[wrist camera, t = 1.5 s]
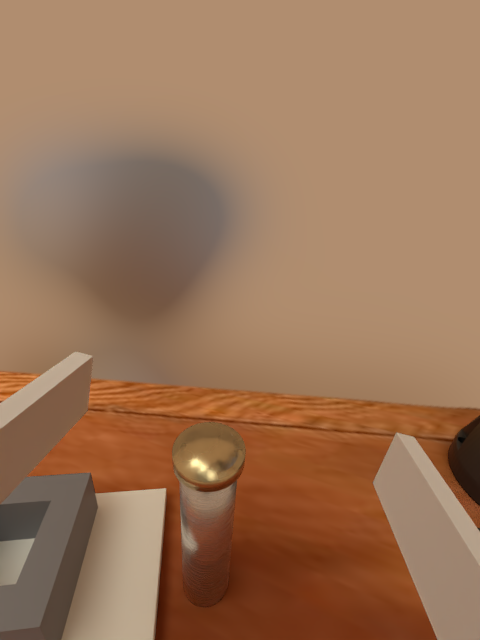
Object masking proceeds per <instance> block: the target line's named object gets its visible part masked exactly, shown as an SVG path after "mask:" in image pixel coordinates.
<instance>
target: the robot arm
mask: <svg viewBox="0 0 480 640" xmlns="http://www.w3.org/2000/svg"><path fill="white" fill-rule="evenodd" d="M92 363H93V356H91V355H87V354H83V353H79V352H74V353H73V354H71V355H70V356H68V357H67V358H65V359H64V360H63V361H61V362H60V363H58V364H57V365H55V366H54V367H52V368H51V369H50V370H48V371H47V372H45V373H44V374H42V375H41V376H39V377H38V378H36V379H35V380H34V381H32V382H31V383H29V384H28V385H26V386H25V387H23V388H22V389H20V390H19V391H18V392H16V393H15V394H13V395H12V396H10V397H9V398H7V399H6V400H5V401H3V402H2V403H0V504H1V503H2V502H3V501H4V500H5V499H6V498H7V497H8V496H9V495H10V493H11V492H12V491H13V490H14V489H15V488H16V487H17V486H18V485H19V484H20V483H21V482H22V481H23V480H24V478H25V477H26V476H27V475H28V474H29V473H30V472H31V471H32V470H33V469H34V468H35V467H36V466H37V465H38V463H39V462H40V461H41V460H42V459H43V458H44V457H45V456H46V455H47V454H48V453H49V452H50V451H51V450H52V448H53V447H54V446H55V445H56V444H57V443H58V442H59V441H60V440H61V439H62V438H63V437H64V436H65V435H66V433H67V432H68V431H69V430H70V429H71V428H72V427H73V426H74V425H75V424H76V423H77V422H78V421H79V420H80V418H81V417H82V416H83V415H84V414H85V413H86V412H87V411H88V401H89V392H90V382H91V371H92ZM448 459H449V464H450V467H451V469H452V472H453V474H454V475H455V477H456V479H457V480H458V482H459V483H460V485H461V486H462V487H463V488H464V490H465V491H466V492H467V493H468V494H469V495H470V496H471V497H472V498H473V499H474V500H475V501H476V502H477V503H478V504H479V505H480V416H478V417H477V418H476V419H475V420H473V421H472V422H471V423H469V424H468V425H467V426H465V427H464V428H463V429H461V430H460V431H459V432H458V433H457V435H456V436H455V438H454V440H453V442H452V444H451V446H450V448H449V452H448ZM373 485H374V487H375V490H376V492H377V494H378V497H379V499H380V502H381V504H382V506H383V509H384V511H385V514H386V516H387V519H388V521H389V523H390V526H391V528H392V531H393V533H394V536H395V538H396V540H397V543H398V545H399V548H400V550H401V552H402V555H403V557H404V560H405V562H406V565H407V567H408V569H409V572H410V574H411V577H412V579H413V582H414V584H415V586H416V589H417V591H418V594H419V596H420V598H421V601H422V603H423V606H424V608H425V611H426V613H427V615H428V618H429V620H430V623H431V625H432V627H433V630H434V632H435V635H436V637H437V640H480V528H477V527H476V526H475V524H474V523H473V521H472V520H471V518H470V517H469V516H468V514H467V513H466V511H465V510H464V508H463V507H462V505H461V504H460V503H459V501H458V500H457V498H456V497H455V495H454V494H453V492H452V491H451V490H450V488H449V487H448V485H447V484H446V482H445V481H444V479H443V478H442V477H441V475H440V474H439V472H438V471H437V469H436V468H435V466H434V465H433V464H432V462H431V461H430V459H429V458H428V456H427V455H426V453H425V452H424V451H423V449H422V448H421V446H420V445H419V443H418V442H417V440H416V439H415V438H414V437H412V436H409V435H405V434H401V433H397V432H396V434H395V436H394V439H393V441H392V443H391V445H390V447H389V449H388V451H387V454H386V456H385V458H384V460H383V462H382V464H381V466H380V468H379V471H378V473H377V475H376V477H375V479H374V481H373Z"/></svg>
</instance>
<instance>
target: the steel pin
mask: <svg viewBox="0 0 480 640" xmlns="http://www.w3.org/2000/svg"><path fill="white" fill-rule="evenodd" d="M172 460H173V470H174V473H175V475H176V477H177V478H178V480H179V481H180V510H181V538H182V567H183V588H184V592H185V594H186V596H187V598H188V599H189V601H190V602H192V603H193V604H194V605H196V606H199V607H210V606H213V605H215V604H216V603H218V602H219V601H220V600H221V599H222V598H223V596H224V594H225V593H226V590H227V587H228V582H229V570H230V558H231V546H232V534H233V522H234V510H235V498H236V486H237V479H238V478H239V477H240V475H241V473H242V471H243V468H244V462H245V444H244V441H243V439H242V438H241V436H240V435H239V434H238V433H237V432H236V431H235V430H234V429H232V428H231V427H229V426H227V425H224V424H221V423H215V422H205V423H199V424H196V425H193V426H191V427H189V428H187V429H186V430H184V431H183V432H182V433H181V434H180V435H179V436H178V437H177V439H176V440H175V442H174V445H173V449H172Z"/></svg>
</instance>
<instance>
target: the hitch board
mask: <svg viewBox="0 0 480 640" xmlns="http://www.w3.org/2000/svg"><path fill="white" fill-rule="evenodd" d="M166 499H167V495H166V488H164V489H150V490H137V491H124V492H110V493H97V494H95V490H94V486H93V481H92V476H91V473H79V474H63V475H48V476H33V477H25V478H24V480H23V481H22V482H21V483H20V484H19V485H18V486H17V487H16V488H15V489H14V490H13V491H12V492H11V493H10V495H9V496H8V497H7V498H6V499H5V500H4V501H3V502H2V503H1V504H0V640H155V633H156V621H157V609H158V597H159V584H160V572H161V560H162V548H163V536H164V523H165V511H166Z"/></svg>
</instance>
